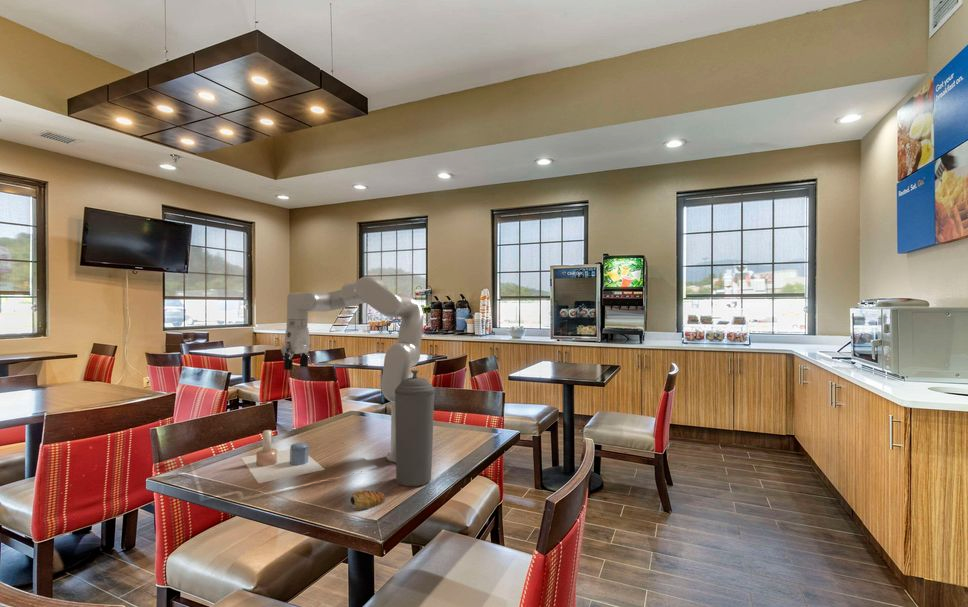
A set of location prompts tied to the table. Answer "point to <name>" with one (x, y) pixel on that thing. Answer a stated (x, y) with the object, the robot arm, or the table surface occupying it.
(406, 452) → the canister
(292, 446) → the cap
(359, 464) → the table surface
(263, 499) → the table surface
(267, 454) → the round stamp handle
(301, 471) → the board
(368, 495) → the pastry
